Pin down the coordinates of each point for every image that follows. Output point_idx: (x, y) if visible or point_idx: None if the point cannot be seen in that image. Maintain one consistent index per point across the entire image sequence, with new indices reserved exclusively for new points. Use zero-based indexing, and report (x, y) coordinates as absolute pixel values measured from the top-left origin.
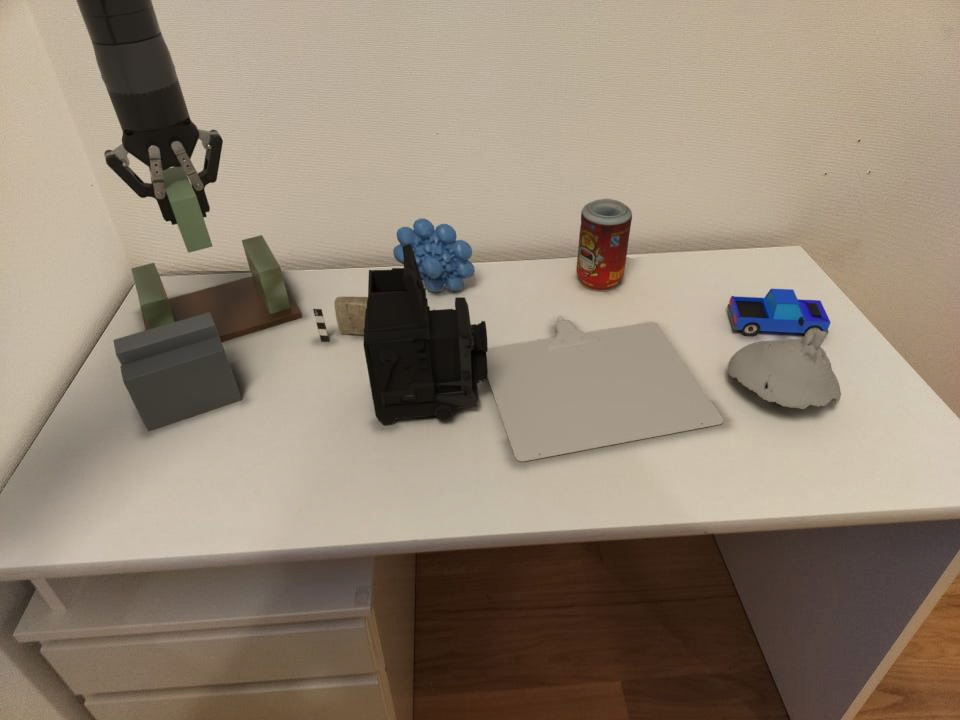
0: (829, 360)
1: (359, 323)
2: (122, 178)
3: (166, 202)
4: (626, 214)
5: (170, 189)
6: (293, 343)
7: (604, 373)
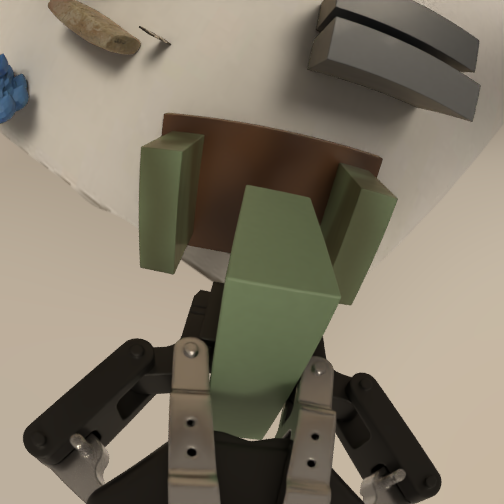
0: None
1: (112, 22)
2: (410, 434)
3: None
4: None
5: (287, 370)
6: (205, 61)
7: None
